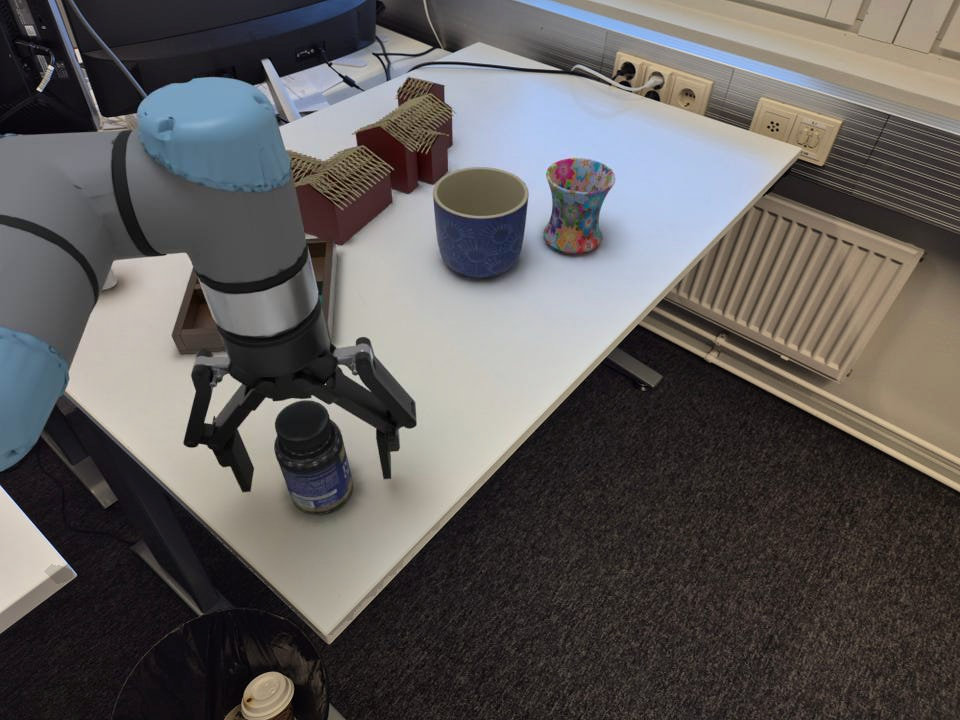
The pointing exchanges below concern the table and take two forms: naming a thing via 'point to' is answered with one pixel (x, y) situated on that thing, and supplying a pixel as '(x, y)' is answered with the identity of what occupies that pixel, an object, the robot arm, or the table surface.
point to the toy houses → (376, 164)
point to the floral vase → (577, 203)
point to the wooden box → (201, 329)
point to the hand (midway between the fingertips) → (318, 473)
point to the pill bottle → (312, 457)
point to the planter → (480, 220)
